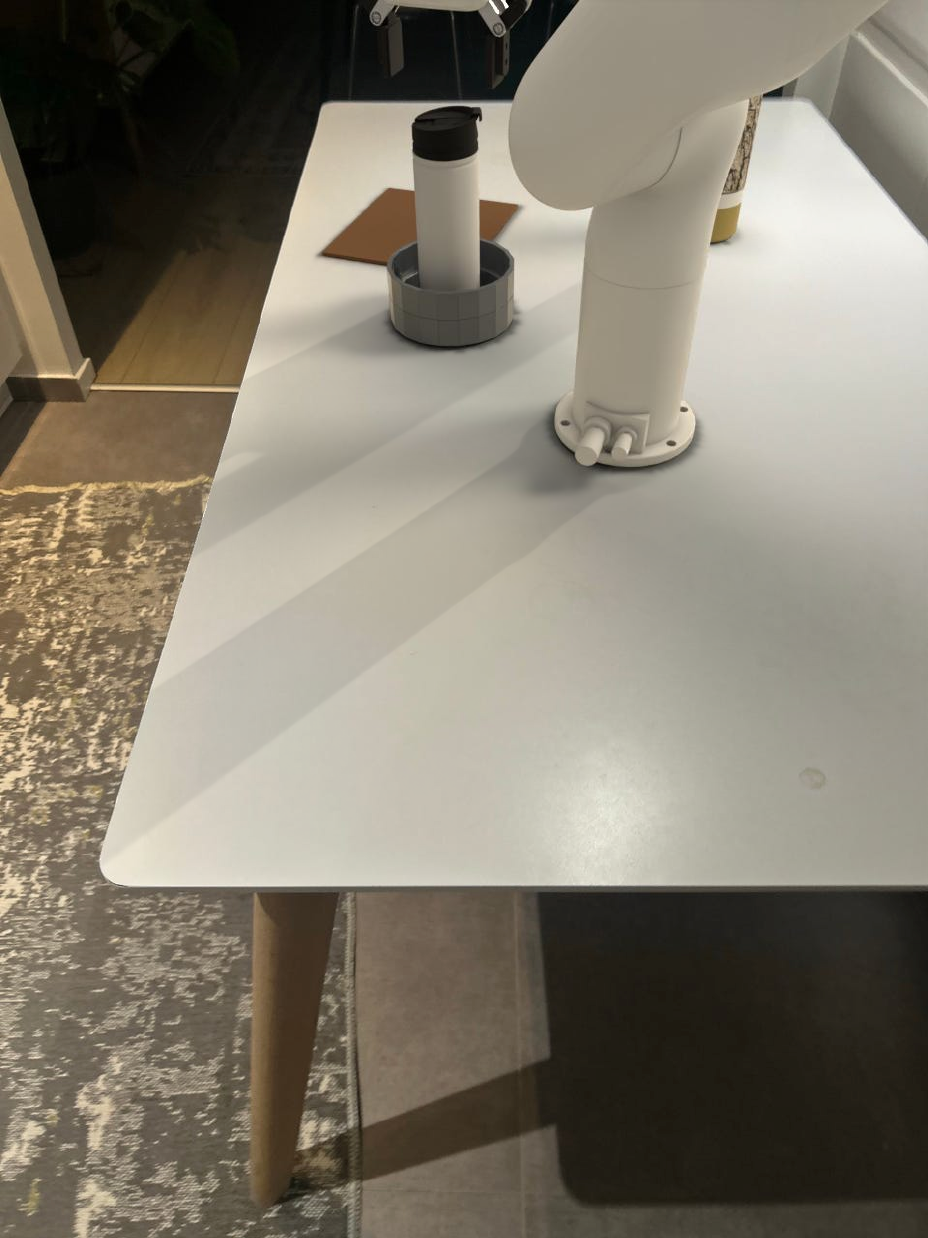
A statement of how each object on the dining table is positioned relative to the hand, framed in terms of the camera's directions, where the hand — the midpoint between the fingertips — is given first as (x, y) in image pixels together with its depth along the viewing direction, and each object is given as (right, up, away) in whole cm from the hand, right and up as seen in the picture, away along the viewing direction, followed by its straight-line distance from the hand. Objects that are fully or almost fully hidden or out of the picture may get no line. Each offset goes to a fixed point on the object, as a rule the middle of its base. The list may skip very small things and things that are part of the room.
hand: (443, 78), depth 82 cm
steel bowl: (+1, -16, +16) cm, 23 cm away
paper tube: (+31, -1, +30) cm, 43 cm away
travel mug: (+1, -16, +16) cm, 23 cm away
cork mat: (-3, 0, +31) cm, 32 cm away
